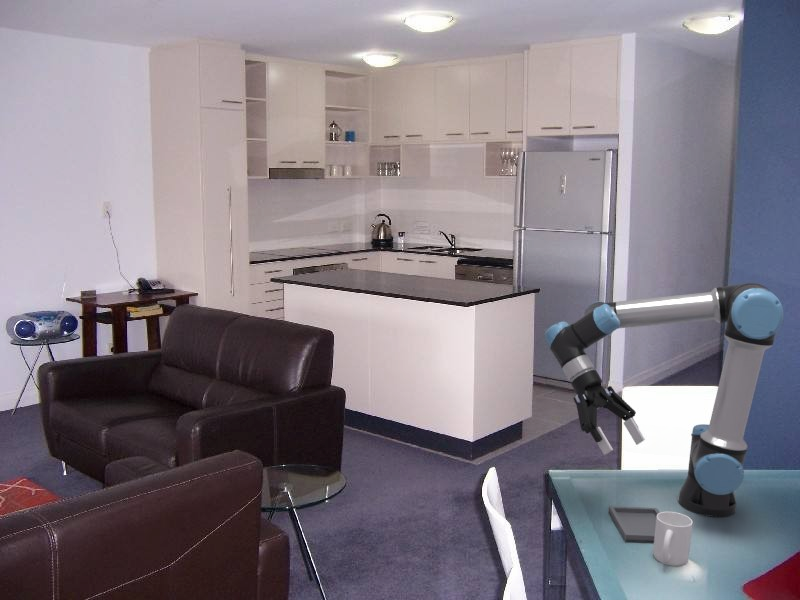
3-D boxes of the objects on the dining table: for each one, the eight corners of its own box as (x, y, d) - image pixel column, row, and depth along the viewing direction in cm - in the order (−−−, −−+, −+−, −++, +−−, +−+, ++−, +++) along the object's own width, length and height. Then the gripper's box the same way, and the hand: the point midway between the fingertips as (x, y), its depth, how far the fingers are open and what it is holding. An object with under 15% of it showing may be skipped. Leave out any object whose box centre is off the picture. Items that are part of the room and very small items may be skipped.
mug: (680, 577, 189) (684, 535, 187) (644, 566, 193) (648, 526, 191) (691, 556, 199) (696, 517, 197) (657, 547, 203) (661, 508, 201)
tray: (656, 514, 222) (656, 507, 221) (676, 544, 205) (677, 536, 205) (608, 513, 222) (609, 506, 221) (625, 542, 205) (625, 534, 205)
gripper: (602, 376, 226) (643, 444, 217) (543, 390, 210) (584, 463, 202) (620, 362, 221) (663, 431, 212) (560, 375, 205) (604, 449, 197)
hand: (625, 447), depth 207 cm, fingers open, 13 cm apart
